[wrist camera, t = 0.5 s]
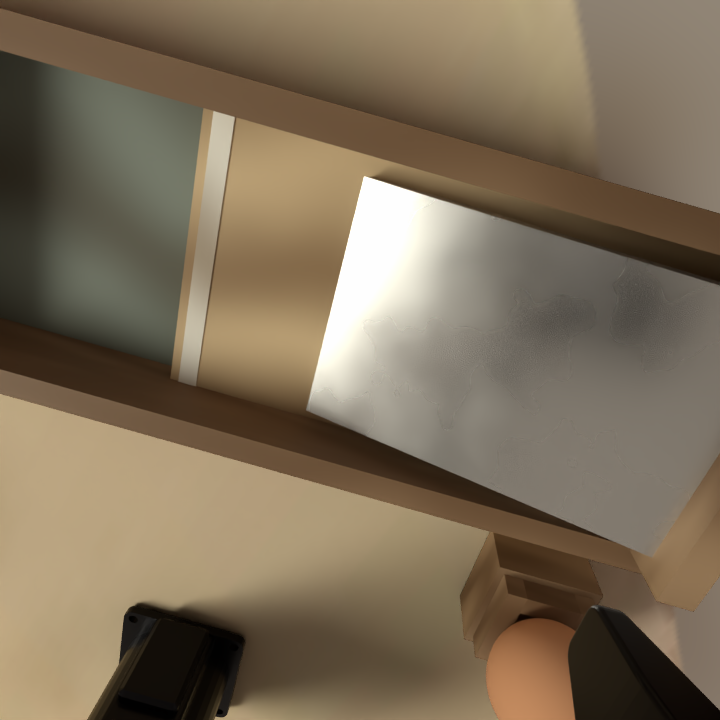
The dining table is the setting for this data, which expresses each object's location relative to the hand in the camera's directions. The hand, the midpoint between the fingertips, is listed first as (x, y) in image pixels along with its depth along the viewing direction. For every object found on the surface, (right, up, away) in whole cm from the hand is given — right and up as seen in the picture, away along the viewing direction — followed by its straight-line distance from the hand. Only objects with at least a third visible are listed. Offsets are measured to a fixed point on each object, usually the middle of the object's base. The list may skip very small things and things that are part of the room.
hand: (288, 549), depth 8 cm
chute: (+6, +3, +11) cm, 13 cm away
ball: (+8, -9, +12) cm, 17 cm away
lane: (-1, +6, +12) cm, 13 cm away
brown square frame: (+9, -7, +17) cm, 20 cm away
